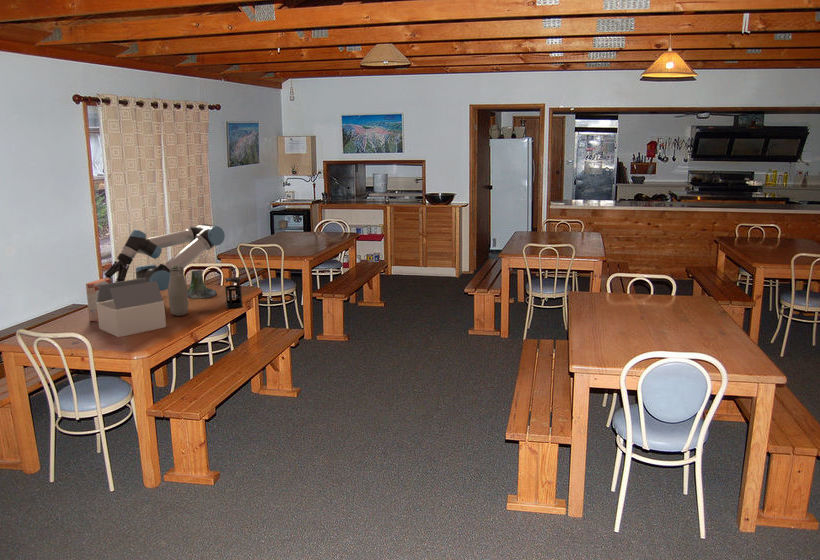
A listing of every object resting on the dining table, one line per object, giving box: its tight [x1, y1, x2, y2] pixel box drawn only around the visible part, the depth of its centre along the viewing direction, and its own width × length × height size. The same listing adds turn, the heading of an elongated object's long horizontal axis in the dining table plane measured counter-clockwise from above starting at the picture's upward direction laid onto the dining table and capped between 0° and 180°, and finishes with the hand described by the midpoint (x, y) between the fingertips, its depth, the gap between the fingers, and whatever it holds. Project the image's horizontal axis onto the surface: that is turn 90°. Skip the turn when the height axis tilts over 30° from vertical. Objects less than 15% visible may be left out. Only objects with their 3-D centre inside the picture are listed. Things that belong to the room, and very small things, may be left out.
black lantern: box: [224, 267, 244, 310], centre depth 396 cm, size 12×9×23 cm
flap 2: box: [110, 281, 164, 309], centre depth 347 cm, size 24×11×1 cm
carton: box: [97, 299, 167, 338], centre depth 355 cm, size 25×23×14 cm
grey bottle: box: [167, 265, 189, 317], centre depth 378 cm, size 10×10×28 cm
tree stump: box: [188, 269, 217, 300], centre depth 428 cm, size 18×20×18 cm
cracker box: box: [85, 278, 113, 323], centre depth 374 cm, size 14×6×21 cm, turn 168°
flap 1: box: [97, 278, 146, 302], centre depth 359 cm, size 24×11×1 cm
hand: (107, 289), depth 375 cm, fingers open, 13 cm apart
